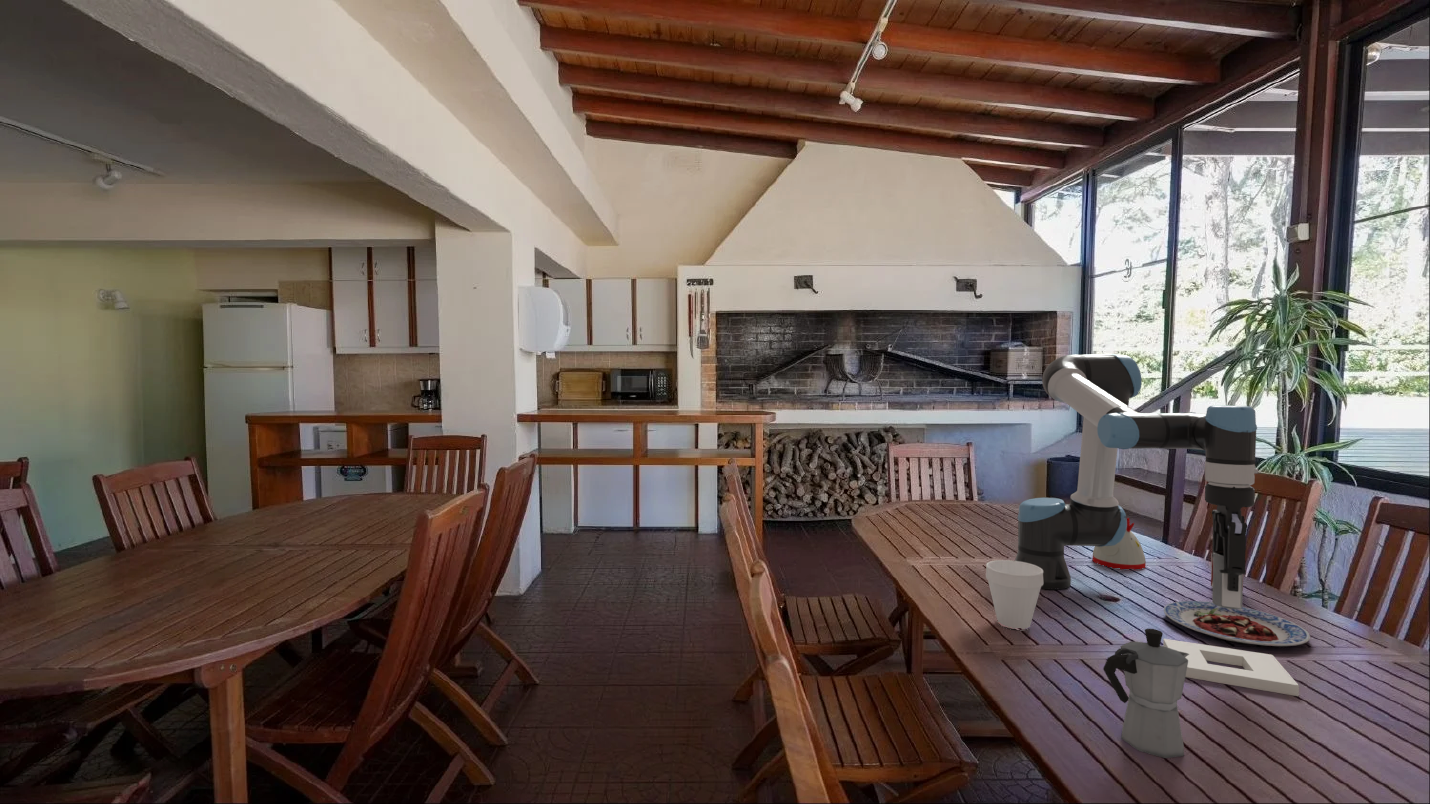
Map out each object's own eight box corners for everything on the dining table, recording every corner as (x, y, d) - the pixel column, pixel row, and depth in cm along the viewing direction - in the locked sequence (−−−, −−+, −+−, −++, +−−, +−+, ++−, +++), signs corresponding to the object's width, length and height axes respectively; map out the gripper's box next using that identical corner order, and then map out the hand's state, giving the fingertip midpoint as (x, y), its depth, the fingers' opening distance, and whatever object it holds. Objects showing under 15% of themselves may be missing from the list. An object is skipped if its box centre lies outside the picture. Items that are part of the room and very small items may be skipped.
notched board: (1176, 675, 121) (1177, 665, 121) (1163, 647, 134) (1163, 638, 134) (1298, 696, 113) (1298, 685, 113) (1272, 664, 125) (1272, 654, 125)
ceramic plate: (1342, 659, 128) (1343, 645, 128) (1200, 649, 133) (1201, 636, 133) (1259, 613, 153) (1260, 601, 153) (1143, 606, 158) (1143, 595, 158)
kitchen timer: (1129, 572, 185) (1130, 522, 185) (1083, 561, 197) (1084, 514, 197) (1154, 565, 192) (1155, 517, 191) (1108, 554, 204) (1109, 509, 203)
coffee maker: (1163, 723, 105) (1164, 617, 104) (1212, 754, 96) (1214, 639, 95) (1083, 731, 102) (1084, 623, 102) (1126, 764, 94) (1128, 646, 93)
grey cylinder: (1206, 601, 125) (1207, 550, 124) (1227, 601, 125) (1228, 550, 125) (1226, 610, 120) (1227, 557, 120) (1248, 609, 121) (1249, 556, 120)
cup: (983, 629, 144) (983, 570, 144) (987, 611, 155) (987, 557, 155) (1043, 639, 138) (1043, 578, 138) (1043, 620, 149) (1043, 563, 149)
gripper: (1269, 493, 112) (1266, 620, 113) (1240, 479, 128) (1238, 591, 129) (1217, 490, 116) (1214, 614, 117) (1195, 476, 131) (1193, 586, 132)
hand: (1227, 601), depth 123 cm, fingers closed on grey cylinder, 4 cm apart
